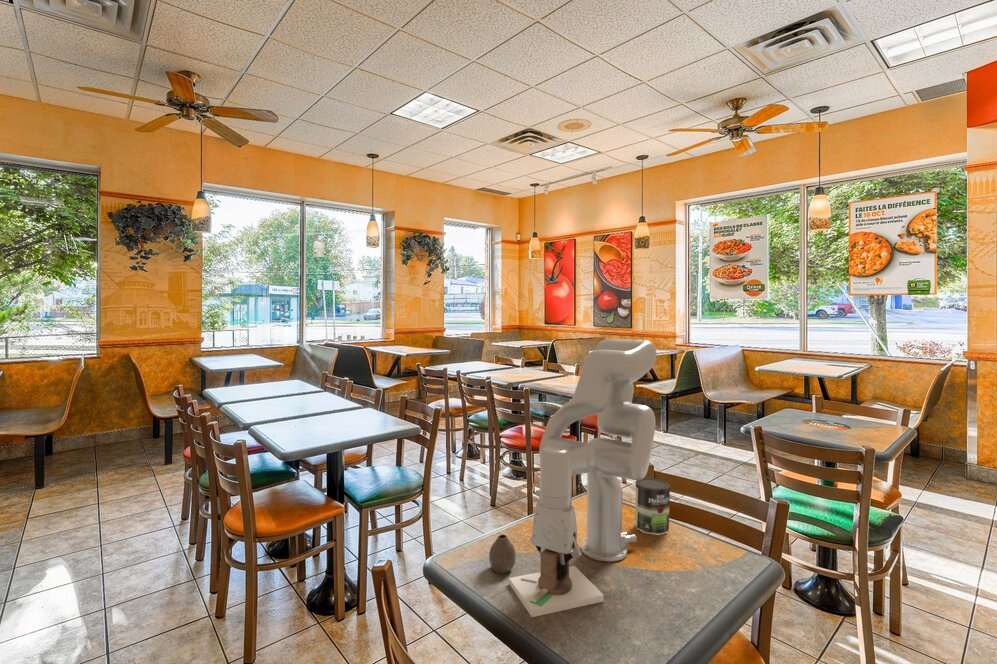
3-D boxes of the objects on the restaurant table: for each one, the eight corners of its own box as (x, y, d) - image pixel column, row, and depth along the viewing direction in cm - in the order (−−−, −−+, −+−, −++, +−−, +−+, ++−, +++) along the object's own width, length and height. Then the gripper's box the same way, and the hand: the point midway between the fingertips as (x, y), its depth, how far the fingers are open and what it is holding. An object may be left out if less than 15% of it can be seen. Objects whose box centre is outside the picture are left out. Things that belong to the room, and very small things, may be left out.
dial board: (574, 571, 127) (574, 565, 127) (603, 601, 114) (603, 594, 114) (509, 583, 121) (509, 577, 121) (531, 617, 108) (531, 609, 108)
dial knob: (550, 572, 123) (550, 537, 123) (578, 583, 118) (578, 547, 118) (518, 595, 113) (519, 557, 112) (548, 608, 108) (548, 569, 107)
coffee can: (676, 534, 149) (676, 488, 148) (644, 537, 147) (645, 490, 146) (658, 520, 159) (659, 476, 158) (628, 522, 157) (629, 478, 156)
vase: (513, 578, 124) (513, 543, 123) (486, 575, 125) (486, 541, 125) (517, 564, 130) (517, 531, 130) (492, 561, 132) (492, 529, 132)
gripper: (517, 496, 118) (517, 571, 119) (580, 512, 109) (579, 594, 109) (534, 487, 124) (533, 559, 125) (594, 502, 115) (593, 580, 115)
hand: (554, 575), depth 117 cm, fingers closed on dial knob, 3 cm apart
